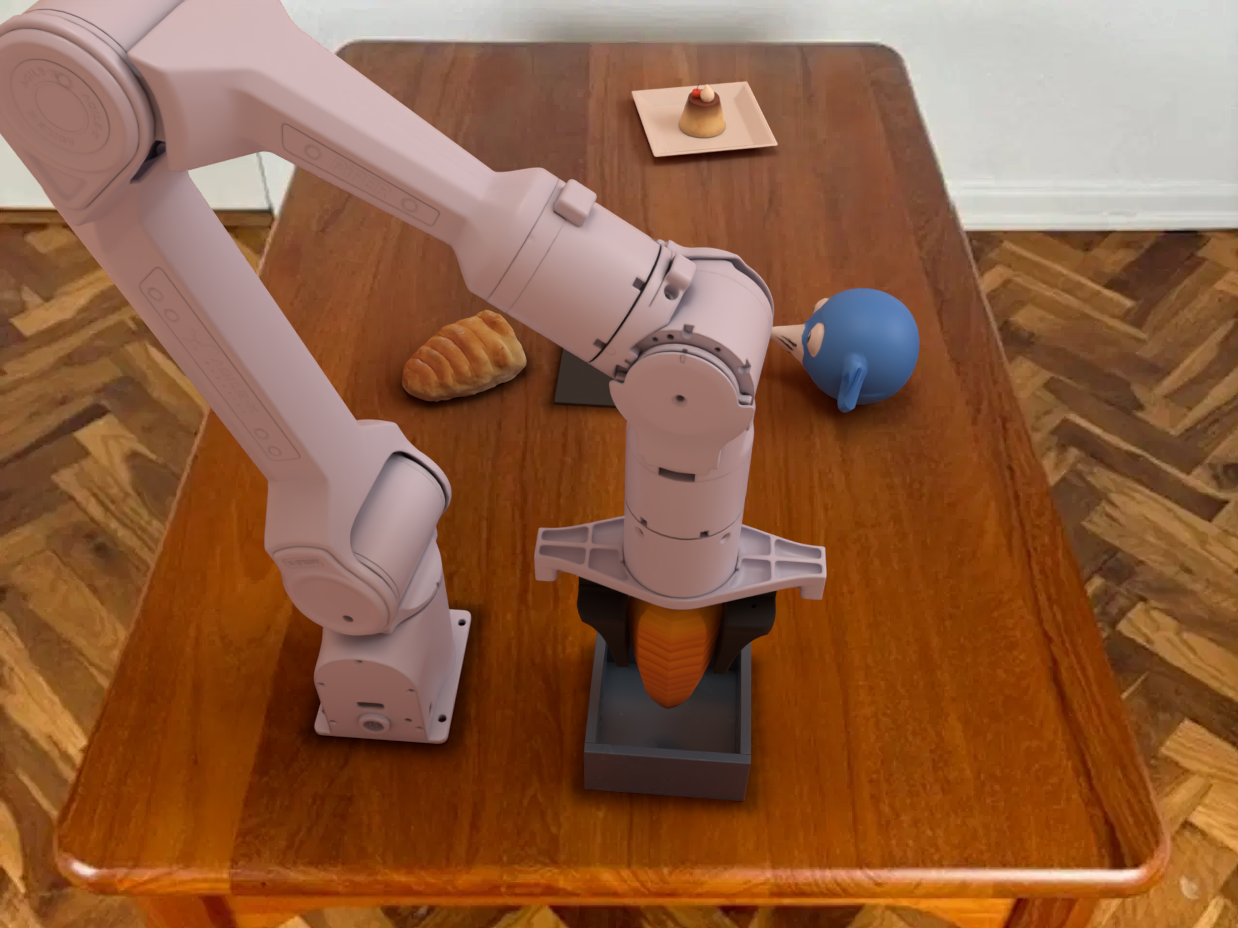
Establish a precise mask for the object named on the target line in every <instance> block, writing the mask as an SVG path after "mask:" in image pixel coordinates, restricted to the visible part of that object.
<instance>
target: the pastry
mask: <svg viewBox="0 0 1238 928" xmlns="http://www.w3.org/2000/svg"><path fill="white" fill-rule="evenodd" d="M526 366H527V356H526V353H525V351H524V349H523V346H522V344H521V343H520V341H519V340H518V338H517V336H516V333H515V331H514V329H513V327H512V326H511V325H510V324H509V322H508V321H507V320H506V319H505V318H504V317H503V315H501V314H500V313H497V312H494V311H492V310H489V309H483V311H479V312H477V314H475V315H473V316H470V317H466V318H462V319H459V320H457V321H455V322H454V323H449V324H446V325H444V326H443V327H441V328H440V329H439V330H438V331H437V332H436V333H435V334H434V335H432V336H431V337H430V338H429V339H428V340H427V341H426V342H425V343H424V344H423V345H421V346H420V347H419V348H418V349H417V350H416V351H415V352H414V353H413V354H411V356H410V358H409V359H408V360H407V361H406V362H405V363H404V364H403V367H402V379H401V385H402V388H403V389H404V390H405V392H406V393H408V394H409V395H410V396H413V397H415V398H418V399H420V400H423V401H427V402H436V403H438V402H440V401H450V400H451V399H453V398H461V397H462V398H467V397H470V396H474V395H476V394H477V393H483V392H485V391H488V390H489V389H492V388H495V387H496V386H497V385H499V384H502V383H507V382H509V381H512V380H513V379H514V378H516V377H517V375H518V374H520V373H521V372H522V370H523V369H524V368H525V367H526Z"/></svg>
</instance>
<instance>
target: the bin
mask: <svg viewBox="0 0 1238 928" xmlns="http://www.w3.org/2000/svg"><path fill="white" fill-rule="evenodd" d="M594 644H595V645H594V655H593V663H592V673H591V682H590V690H589V698H588V700H589V701H588V709H587V719H586V727H585V737H584V746H583V770H584V771H583V772H584V790H591V791H600V792H601V791H602V792H614V793H615V792H616V793H628V794H629V793H631V794H641V795H642V794H643V795H656V796H667V797H668V796H670V797H682V798H696V799H710V800H720V801H721V800H722V801H735V802H736V801H737V802H745V800H746V799H745V798H746V793H747V788H748V787H747V786H748V782H749V776H750V772H751V771H750V770H751V765H752V642H750V643H749V644H748V645H746V646H745V647H744V648H743V649H742V650H741V651H740V653H739V654H738V655H737V656H736V657H735V659H734V660H733V662H732V663H731V665H730V666H729V668H728V670H727V673H725V674H714V652H713V655H712V657H711V659H710V662H709V664H708V666H707V668H706V670H705V672H704V674H703V676H702V678H701V680H700V681H699V683H698V684H697V686H696V688H695V689H694V691H693V692H692V694H691V696H690V697H689V698H688V699H687V700H686V701H685V702H684V703H682V704H680V705H678V706H676V707H674V708H669V709H666V708H664V707H662V706H660V705H659V704H658V703H656V702H655V701H654V700H652V699H651V697H650V696H649V695H648V693H647V692H646V690H645V687H644V684H643V681H642V678H641V675H640V672H639V669H638V666H637V662H636V659H635V656H634V652H633V648H632V644H631V640H630V650H629V662H628V667H617V666H616V664H615V660H614V657H613V655H612V653H611V651H610V649H609V647H608V645H607V643H606V642H605V640H604V639H603V638H602V636H601V635H600V634H599V633H598V632H597V631H596V636H595V643H594Z"/></svg>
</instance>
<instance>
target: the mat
mask: <svg viewBox="0 0 1238 928" xmlns="http://www.w3.org/2000/svg"><path fill="white" fill-rule="evenodd" d="M559 365H560V366H559V371H558V378H557V384H556V389H555V395H554V401H553V403H554V405H571V406H586V407H604V408H617V407H616V406H615V404H614V402H613V399H612V396H611V393H610V388H609V382H610V381H611V380H615V379H613V378H612V377H610V376H608V375H607V374H605V373H603V372H602V371H600V370H598V369H597V368H595V367H593V366H592V365H590V364H588V362H585V361H584V360H582V359H580V358H579V357H577V356H575V355H574V354H572V353H571V352H569V351H567V350H566V349H564V348H562V351H561V359H560V364H559Z"/></svg>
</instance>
